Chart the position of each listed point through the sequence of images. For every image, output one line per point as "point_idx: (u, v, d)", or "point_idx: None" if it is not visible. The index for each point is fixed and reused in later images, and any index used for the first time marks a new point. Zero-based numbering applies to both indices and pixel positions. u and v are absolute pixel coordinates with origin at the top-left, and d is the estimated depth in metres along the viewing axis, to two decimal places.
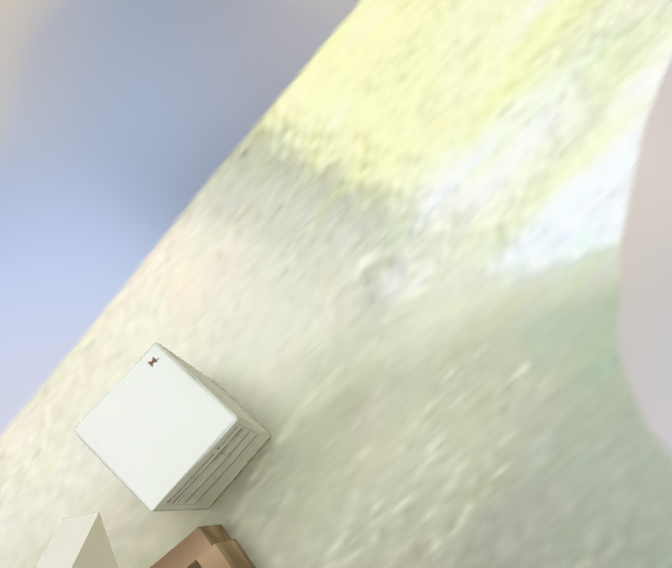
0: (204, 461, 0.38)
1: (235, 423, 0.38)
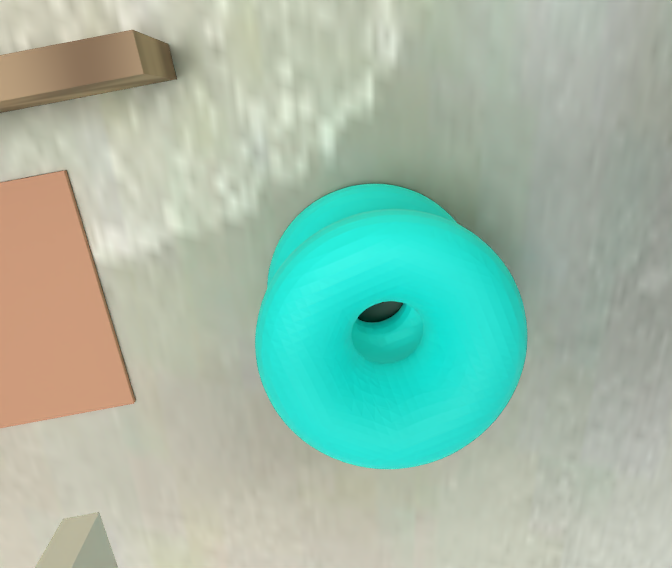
0: None
1: None
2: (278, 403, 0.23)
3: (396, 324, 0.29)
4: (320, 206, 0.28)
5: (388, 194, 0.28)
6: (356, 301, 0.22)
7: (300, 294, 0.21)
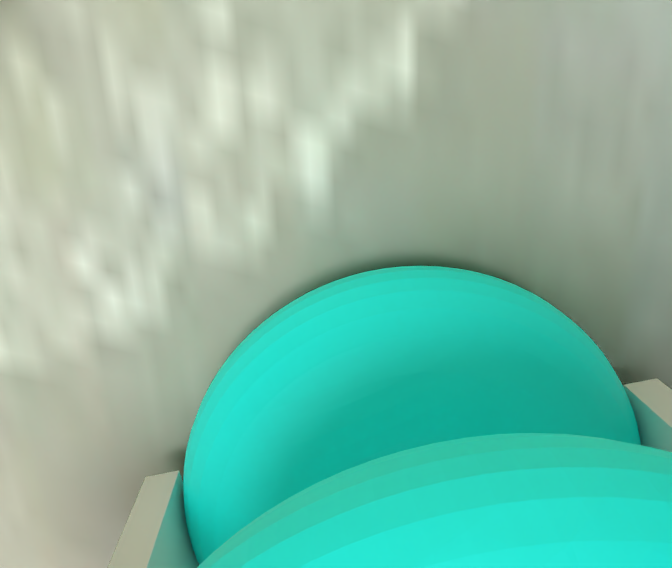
0: None
1: None
2: None
3: None
4: (296, 323, 0.12)
5: (455, 296, 0.12)
6: None
7: None
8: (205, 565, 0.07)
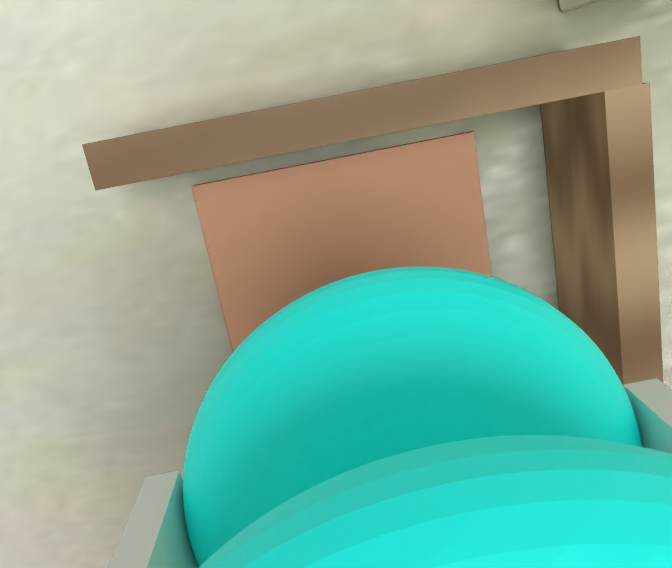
0: None
1: None
2: None
3: None
4: (296, 324, 0.12)
5: (456, 298, 0.12)
6: None
7: None
8: None
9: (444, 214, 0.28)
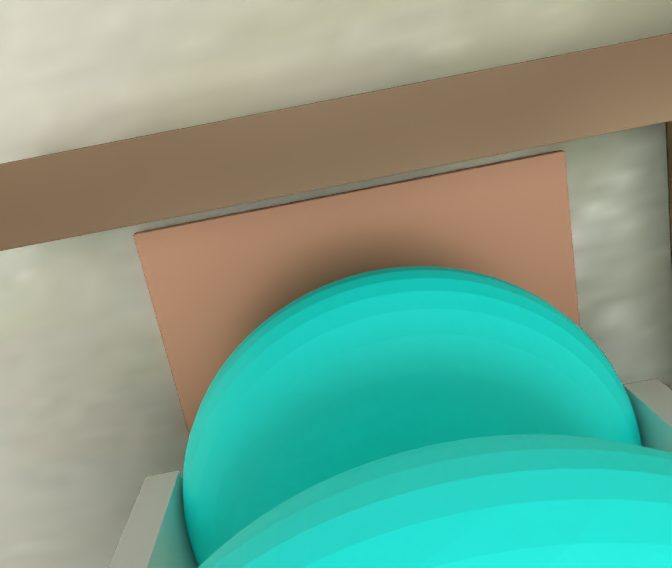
0: None
1: None
2: None
3: None
4: (296, 323, 0.12)
5: (456, 297, 0.12)
6: None
7: None
8: (204, 567, 0.06)
9: (516, 274, 0.18)
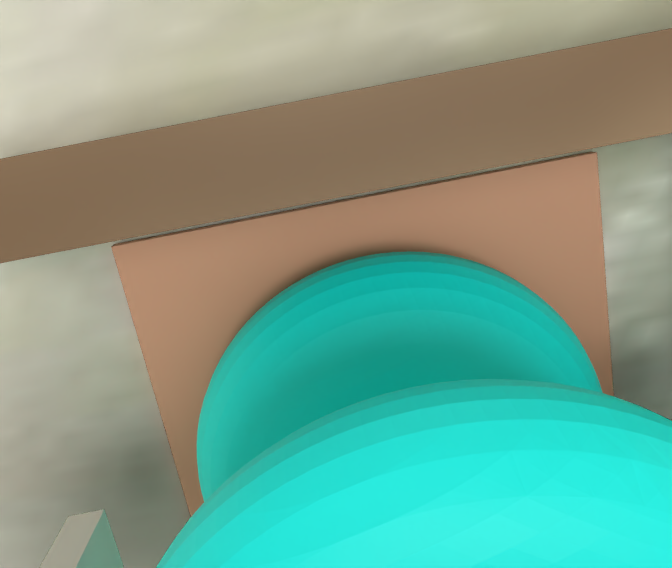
0: None
1: None
2: None
3: None
4: (297, 302, 0.14)
5: (439, 278, 0.14)
6: None
7: None
8: (226, 483, 0.08)
9: (541, 290, 0.16)
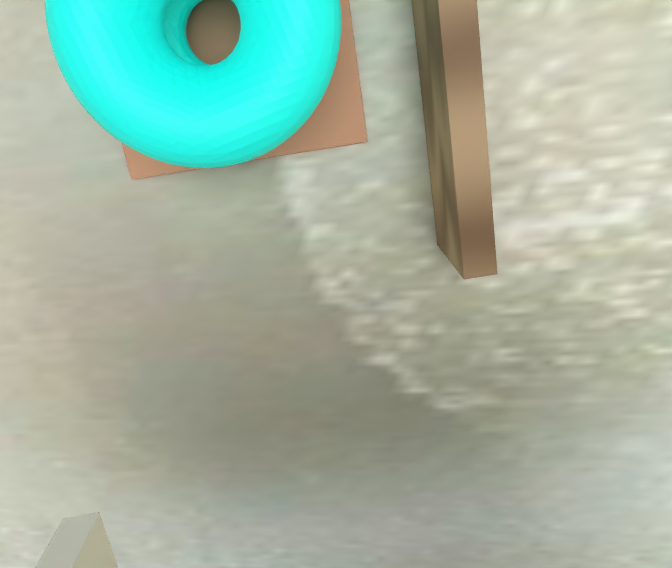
0: None
1: None
2: (69, 74, 0.21)
3: None
4: None
5: None
6: None
7: None
8: None
9: None
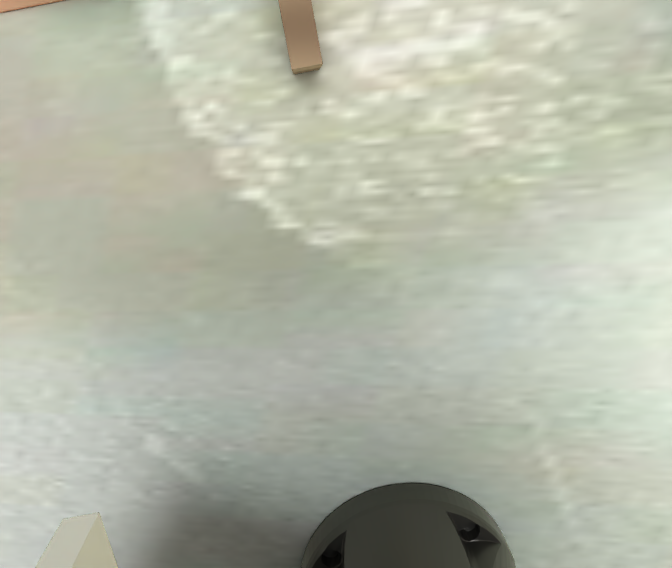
0: None
1: None
2: None
3: None
4: None
5: None
6: None
7: None
8: None
9: None
